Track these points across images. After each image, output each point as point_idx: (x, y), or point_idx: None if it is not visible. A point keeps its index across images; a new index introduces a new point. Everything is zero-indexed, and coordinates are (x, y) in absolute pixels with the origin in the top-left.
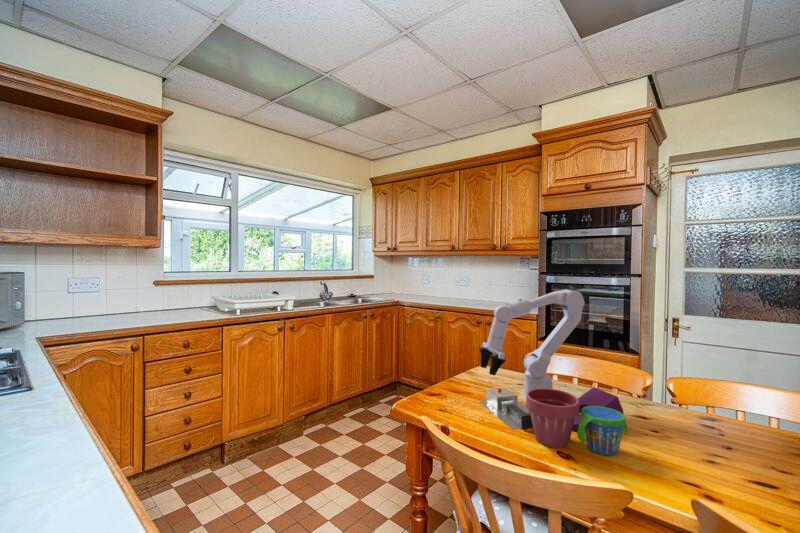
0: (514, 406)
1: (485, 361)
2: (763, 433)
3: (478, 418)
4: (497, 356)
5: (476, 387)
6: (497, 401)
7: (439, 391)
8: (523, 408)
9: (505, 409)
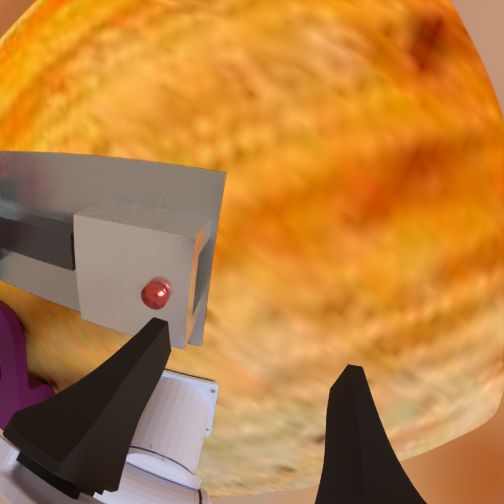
0: (57, 256)
1: (337, 434)
2: None
3: (77, 77)
4: (34, 466)
5: (407, 297)
6: (85, 209)
7: (455, 91)
8: None
9: None
